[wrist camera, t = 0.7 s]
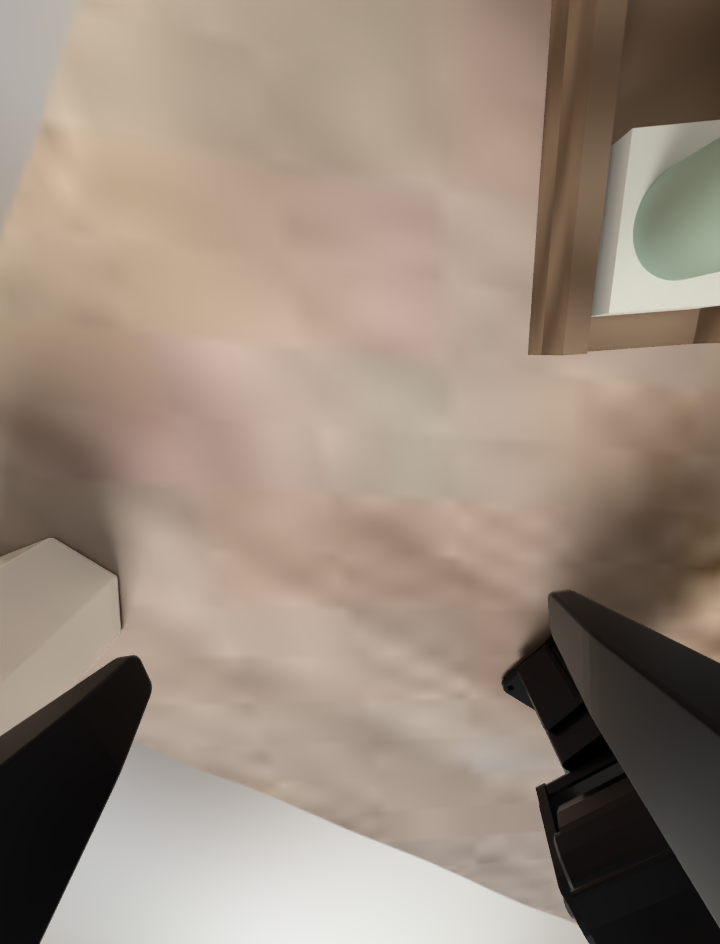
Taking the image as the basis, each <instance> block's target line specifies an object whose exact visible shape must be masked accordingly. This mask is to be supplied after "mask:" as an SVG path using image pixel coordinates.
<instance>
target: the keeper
mask: <svg viewBox="0 0 720 944" xmlns="http://www.w3.org/2000/svg"><path fill="white" fill-rule="evenodd" d="M713 306H720V120H712V121H702V122H692V123H681V124H671V125H661V126H651V127H640V128H632V129H631V130H630V131H629V132H628V133H626V134H625V135H624V136H623V137H622V138H620V139H619V140H618V141H617V142H616V143H615V144H613V145H612V146H611V151H610V160H609V168H608V177H607V185H606V194H605V203H604V211H603V220H602V229H601V237H600V246H599V254H598V263H597V272H596V280H595V289H594V298H593V306H592V315H591V317H598V316H610V315H623V314H636V313H649V312H662V311H675V310H687V309H698V308H705V307H713Z"/></svg>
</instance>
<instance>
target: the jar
mask: <svg viewBox="0 0 720 944" xmlns="http://www.w3.org/2000/svg"><path fill="white" fill-rule="evenodd" d="M120 633H121V622H120V608H119V593H118V578H117V576H116V575H114V574H113V573H111V572H110V571H108V570H106V569H105V568H103V567H101V566H100V565H98V564H96V563H95V562H93V561H91V560H90V559H88V558H86V557H85V556H83V555H81V554H80V553H78V552H76V551H75V550H73V549H71V548H70V547H68V546H66V545H65V544H63V543H61V542H60V541H58V540H57V539H55V538H47V539H45V540H42V541H40V542H37V543H34V544H32V545H29V546H27V547H24V548H21V549H19V550H16V551H14V552H11V553H9V554H6V555H3V556H1V557H0V736H1V735H3V734H4V733H6V732H7V731H9V730H10V729H12V728H13V727H15V726H16V725H17V724H19V723H20V722H22V721H23V720H25V719H26V718H28V717H29V716H31V715H32V714H34V713H35V712H37V711H38V710H40V709H41V708H43V707H44V706H46V705H47V704H49V703H50V702H52V701H53V700H55V699H56V698H58V697H59V696H61V695H62V694H64V693H65V692H67V691H68V690H70V689H71V688H73V687H74V686H75V685H76V684H77V683H78V681H79V680H80V679H81V678H82V677H83V676H84V675H85V673H86V672H87V671H88V670H89V669H90V668H91V667H92V665H93V664H94V663H95V662H96V661H97V660H98V659H99V657H100V656H101V655H102V654H103V653H104V652H105V651H106V649H107V648H108V647H109V646H110V645H111V644H112V643H113V641H114V640H115V639H116V638H117V637H118V636H119V635H120Z"/></svg>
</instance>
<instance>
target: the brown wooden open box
mask: <svg viewBox="0 0 720 944" xmlns="http://www.w3.org/2000/svg"><path fill="white" fill-rule="evenodd" d="M712 120H720V0H552V14H551V28H550V43H549V57H548V72H547V87H546V101H545V116H544V131H543V145H542V160H541V175H540V189H539V204H538V219H537V233H536V248H535V262H534V277H533V292H532V306H531V321H530V336H529V350H528V355H572V354H586V353H587V351H601V350H614V349H627V348H641V347H654V346H668V345H681V344H698V343H720V306H713V307H705V308H698V309H687V310H675V311H662V312H649V313H636V314H623V315H610V316H598V317H591V315H592V306H593V298H594V289H595V280H596V272H597V263H598V254H599V246H600V237H601V229H602V220H603V211H604V203H605V194H606V185H607V177H608V168H609V160H610V151H611V146H612V145H613V144H615V143H616V142H617V141H618V140H619V139H620V138H622V137H623V136H624V135H625V134H626V133H628V132H629V131H630V130H631V129H632V128H640V127H651V126H661V125H671V124H681V123H692V122H702V121H712Z"/></svg>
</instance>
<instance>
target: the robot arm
mask: <svg viewBox="0 0 720 944" xmlns="http://www.w3.org/2000/svg"><path fill="white" fill-rule="evenodd" d="M548 608H549V623H550V630H551V633H552V637H551V638H549V639H548V640H547V641H546V642H545V643H544V644H543V645H542V646H541V647H539V648H538V649H537V650H536V651H535V652H534V653H533V654H532V655H530V656H529V657H528V658H527V659H526V660H525V661H524V662H523V663H521V664H520V665H519V666H518V667H517V668H516V669H515V670H514V671H513V672H511V673H510V674H509V675H508V676H507V677H506V678H505V679H504V680H503V681H502V686H503V689H504V691H505V692H506V693H508V694H509V695H511V696H513V697H514V698H516V699H518V700H519V701H521V702H522V703H524V704H526V705H527V706H529V707H531V708H532V709H534V710H535V711H536V713H537V715H538V717H539V719H540V721H541V724H542V726H543V728H544V729H545V731H546V733H547V735H548V738H549V740H550V742H551V744H552V746H553V748H554V750H555V752H556V755H557V757H558V759H559V761H560V763H561V765H562V767H563V769H564V771H565V775H563V776H561V777H559V778H557V779H555V780H554V781H552V782H550V783H548V784H545V783H543V784H542V785H540V786H538V787H536V791H537V796H538V800H539V804H540V805H539V808H540V812H541V816H542V820H543V824H544V828H545V832H546V837H547V841H548V845H549V849H550V853H551V857H552V862H553V866H554V870H555V874H556V878H557V882H558V886H559V889H560V892H561V894H562V896H563V898H564V904H565V907H566V909H567V911H568V913H569V915H570V916H571V917H572V918H573V919H574V920H575V921H577V923H578V925H579V927H580V929H581V930H582V932H583V934H584V936H585V938H586V939H587V941H588V942H589V944H720V663H718V662H716V661H714V660H712V659H710V658H708V657H706V656H704V655H702V654H700V653H698V652H696V651H694V650H692V649H690V648H688V647H686V646H684V645H682V644H680V643H678V642H676V641H674V640H672V639H670V638H668V637H666V636H664V635H662V634H660V633H658V632H656V631H654V630H652V629H649V628H647V627H645V626H643V625H641V624H639V623H637V622H635V621H633V620H631V619H629V618H627V617H625V616H623V615H621V614H619V613H617V612H615V611H613V610H611V609H609V608H607V607H605V606H603V605H601V604H599V603H597V602H595V601H593V600H591V599H589V598H587V597H585V596H583V595H581V594H579V593H577V592H575V591H572V590H561V591H555V592H551V593H550V594H549V596H548ZM509 685H510V686H509ZM151 691H152V684H151V681H150V678H149V676H148V674H147V672H146V670H145V668H144V666H143V664H142V662H141V660H140V658H139V657H137V656H135V655H131V656H124V657H119V658H116V659H114V660H113V661H111V662H110V663H108V664H107V665H105V666H104V667H102V668H101V669H99V670H98V671H96V672H95V673H93V674H92V675H90V676H89V677H87V678H86V679H84V680H83V681H81V682H80V683H79V684H77V685H76V686H74V687H73V688H71V689H70V690H68V691H67V692H65V693H64V694H62V695H61V696H59V697H58V698H56V699H55V700H53V701H52V702H50V703H49V704H47V705H46V706H44V707H43V708H41V709H40V710H38V711H37V712H35V713H34V714H32V715H31V716H29V717H28V718H26V719H25V720H23V721H22V722H20V723H19V724H17V725H16V726H15V727H13V728H12V729H10V730H9V731H7V732H6V733H4V734H3V735H1V736H0V944H40V942H41V940H42V938H43V936H44V934H45V932H46V930H47V928H48V925H49V923H50V921H51V919H52V917H53V915H54V913H55V910H56V908H57V906H58V904H59V902H60V900H61V898H62V896H63V894H64V892H65V890H66V887H67V885H68V883H69V881H70V879H71V877H72V875H73V873H74V870H75V868H76V866H77V864H78V862H79V860H80V858H81V856H82V854H83V851H84V849H85V847H86V845H87V843H88V841H89V838H90V836H91V835H92V832H93V830H94V828H95V826H96V824H97V822H98V820H99V818H100V816H101V813H102V811H103V809H104V807H105V805H106V803H107V800H108V799H109V796H110V794H111V792H112V790H113V788H114V786H115V783H116V781H117V779H118V777H119V775H120V773H121V770H122V768H123V765H124V763H125V760H126V758H127V755H128V752H129V750H130V747H131V745H132V742H133V740H134V737H135V734H136V732H137V729H138V727H139V724H140V721H141V719H142V716H143V714H144V711H145V708H146V706H147V703H148V701H149V698H150V695H151Z"/></svg>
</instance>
